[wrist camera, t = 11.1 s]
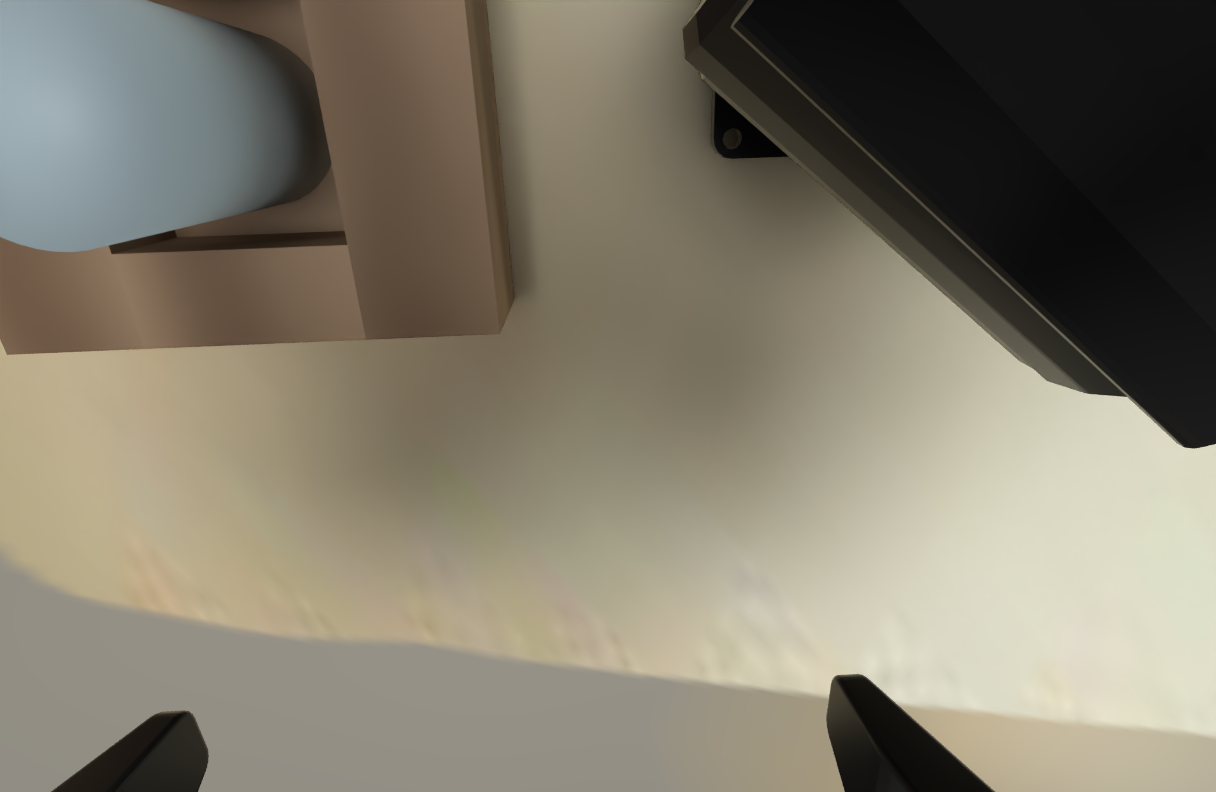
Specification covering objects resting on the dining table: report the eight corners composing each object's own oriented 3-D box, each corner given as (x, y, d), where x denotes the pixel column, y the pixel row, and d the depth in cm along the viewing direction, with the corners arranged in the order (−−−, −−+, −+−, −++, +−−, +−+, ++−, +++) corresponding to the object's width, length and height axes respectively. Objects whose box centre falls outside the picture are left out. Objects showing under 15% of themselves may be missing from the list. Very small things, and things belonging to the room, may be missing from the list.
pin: (317, 27, 15) (111, -54, 8) (349, 202, 16) (197, 247, 10) (147, 33, 15) (-192, -45, 8) (197, 207, 16) (-57, 256, 10)
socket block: (475, -116, 15) (445, -185, 11) (514, 299, 19) (499, 333, 15) (-42, -102, 14) (-223, -169, 11) (108, 315, 18) (7, 354, 15)
